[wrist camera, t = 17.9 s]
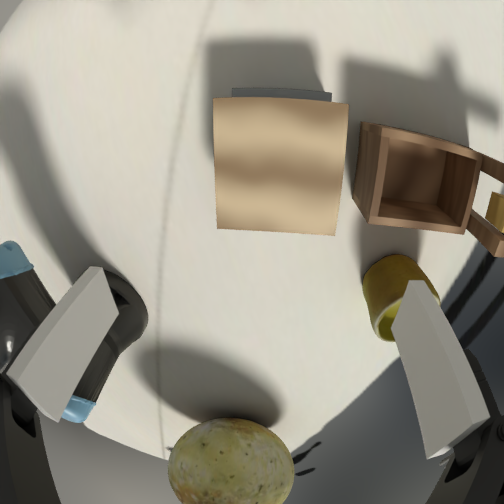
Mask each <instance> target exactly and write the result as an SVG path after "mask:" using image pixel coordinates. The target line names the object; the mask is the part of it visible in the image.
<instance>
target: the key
mask: <svg viewBox="0 0 504 504" xmlns="http://www.w3.org/2000/svg"><path fill="white" fill-rule="evenodd" d="M485 219H487V220H488V221H489V222H490V223H491V224H493V225H494V226H495V227H496V228H497V229H498V230H499V231H501V232H503V233H504V195H502V194H498V193H495V192H492V194H491V198H490V202H489V206H488V209H487V213H486V216H485Z"/></svg>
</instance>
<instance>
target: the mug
mask: <svg viewBox="0 0 504 504" xmlns="http://www.w3.org/2000/svg"><path fill="white" fill-rule="evenodd" d="M409 280H424V281H425V283H426V284H427V286H428V288H429V289H430V291H431V293H432V294H433V296H434V298H435V299H436V301H437V303H438V304H439V306H440V298H439V295H438V293H437V292H436V290H435V288H434V286H433V285H432V283H431V282H430V280H429V279H428V277H427V276H426V275H425V273H424V272H423V271H422V270H421V268H420V267H419V266H418V264H417V263H416V262H415V261H414V260H412V259H411V258H409V257H407V256H404V255H400V254H394V255H390V256H386V257H384V258H382V259H381V260H380V261H378V262H377V263H375V264H374V265H372V266H371V268H370V269H369V270H368V271H367V273H366V274H365V276H364V279H363V294H364V297H365V300H366V302H367V306H368V310H369V315H370V320H371V324H372V328H373V330H374V332H375V334H376V335H377V337H378V338H380V339H381V340H383V341H386V342H395V339H394V336H393V333H392V330H391V327H392V324H393V322H394V319H395V317H396V314H397V312H398V309H399V307H400V304H401V302H402V299H403V296H404V293H405V291H406V288H407V285H408V282H409Z"/></svg>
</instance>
